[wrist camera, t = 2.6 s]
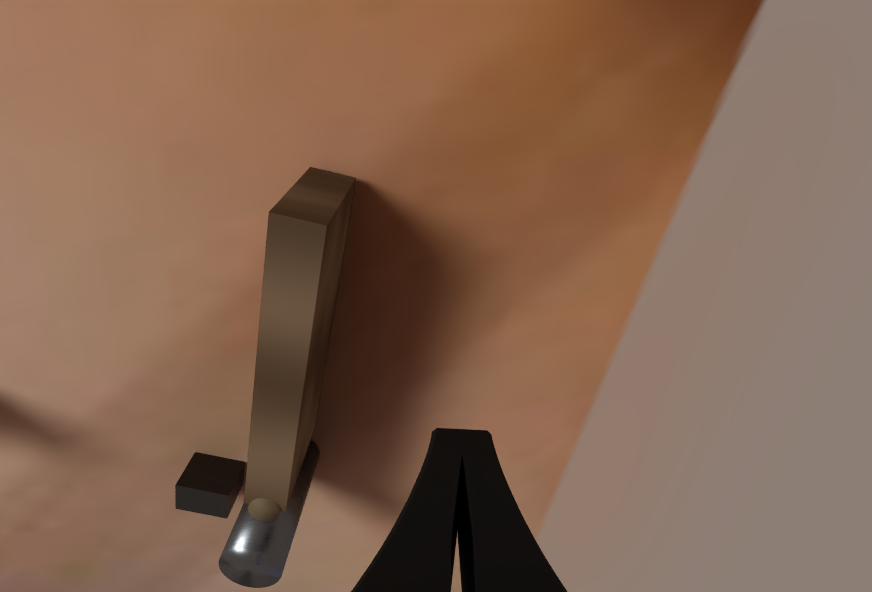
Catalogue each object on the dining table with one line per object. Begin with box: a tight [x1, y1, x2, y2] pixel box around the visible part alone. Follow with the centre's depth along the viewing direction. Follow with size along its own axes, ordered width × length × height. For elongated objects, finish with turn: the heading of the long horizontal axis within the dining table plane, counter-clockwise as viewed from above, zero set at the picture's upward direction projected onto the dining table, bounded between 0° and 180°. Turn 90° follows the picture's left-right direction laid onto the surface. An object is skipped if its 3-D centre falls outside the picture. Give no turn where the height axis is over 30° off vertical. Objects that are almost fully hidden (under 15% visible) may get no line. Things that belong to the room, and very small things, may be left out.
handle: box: [244, 167, 356, 522], centre depth 20 cm, size 13×2×5 cm, turn 167°
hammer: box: [176, 440, 319, 588], centre depth 23 cm, size 22×4×6 cm, turn 77°
